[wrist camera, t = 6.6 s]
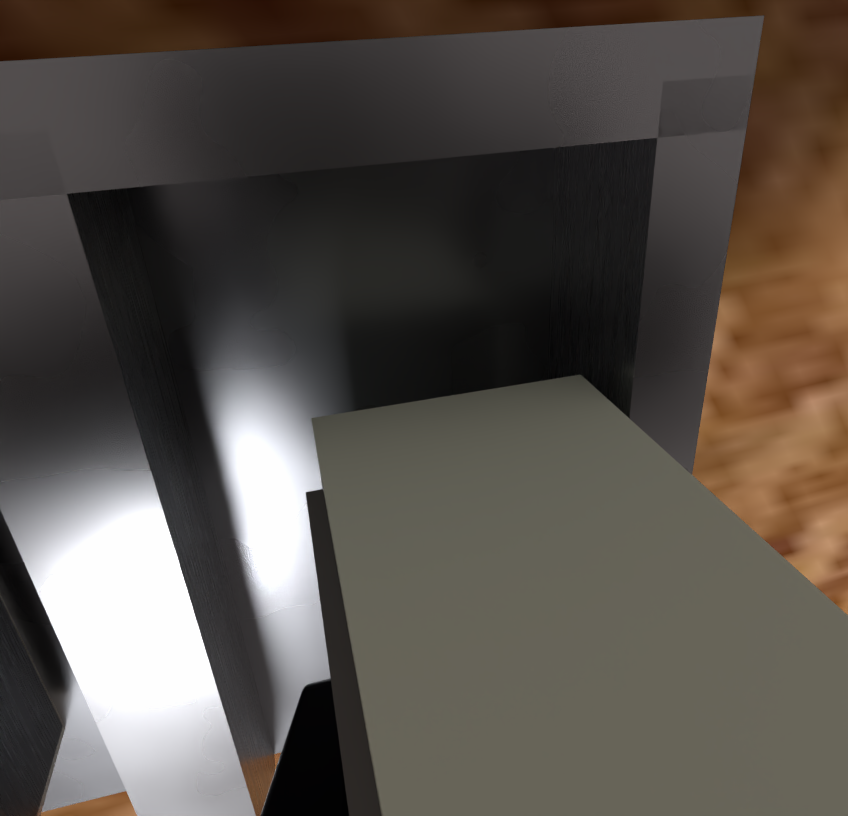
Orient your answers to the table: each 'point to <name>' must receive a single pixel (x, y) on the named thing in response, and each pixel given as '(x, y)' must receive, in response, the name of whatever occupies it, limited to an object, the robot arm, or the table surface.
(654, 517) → the pale sage upright block
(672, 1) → the table surface
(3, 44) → the table surface
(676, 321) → the gray compartment tray
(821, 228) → the table surface
